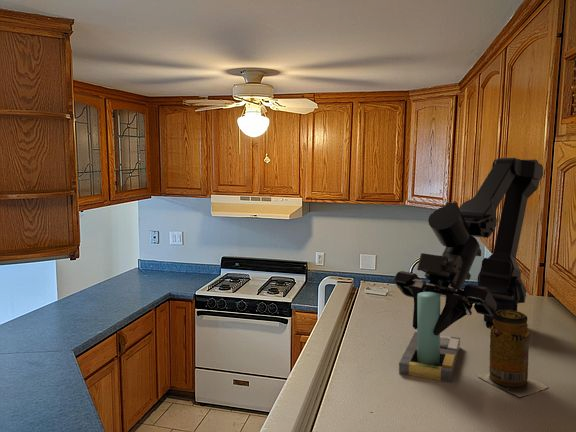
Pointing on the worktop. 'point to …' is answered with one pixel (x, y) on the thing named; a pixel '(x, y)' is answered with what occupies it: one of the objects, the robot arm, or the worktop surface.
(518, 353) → the condiment
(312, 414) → the worktop surface
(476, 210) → the robot arm
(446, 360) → the socket plate
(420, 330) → the plug
